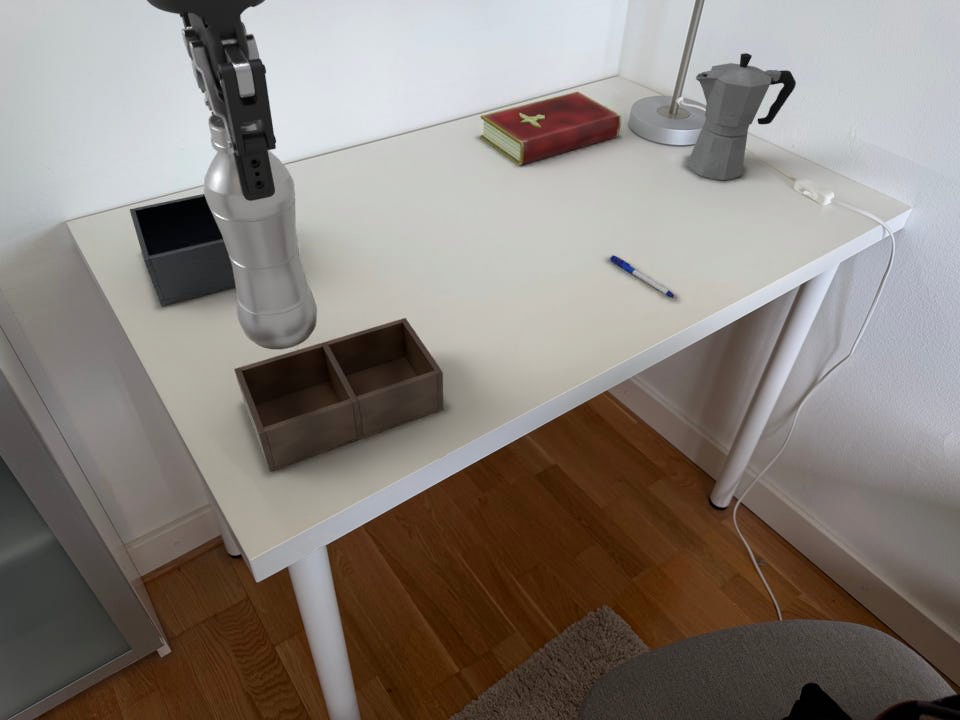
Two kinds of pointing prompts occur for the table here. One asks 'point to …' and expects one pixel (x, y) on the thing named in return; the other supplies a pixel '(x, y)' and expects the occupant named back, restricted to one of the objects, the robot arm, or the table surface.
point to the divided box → (339, 391)
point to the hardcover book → (549, 127)
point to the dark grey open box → (183, 249)
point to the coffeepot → (733, 115)
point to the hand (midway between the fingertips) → (248, 175)
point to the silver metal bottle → (261, 249)
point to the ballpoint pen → (640, 275)
